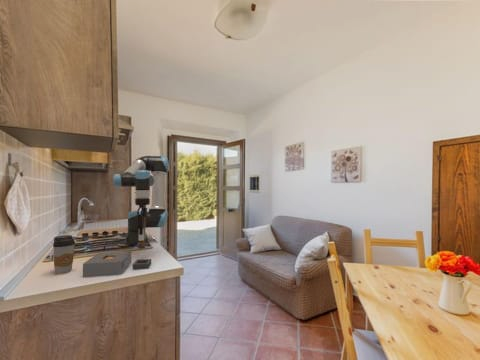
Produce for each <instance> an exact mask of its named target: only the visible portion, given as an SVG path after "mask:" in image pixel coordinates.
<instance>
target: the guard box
mask: <svg viewBox="0 0 480 360" xmlns="http://www.w3.org/2000/svg"><path fill="white" fill-rule="evenodd" d="M107 257H114V258H111V259H105V258H107ZM131 264H132V251H114V252H98V253H96V254H95V255H93V256H92V257H90V258H89V259H88V260H86V261H85V262H84V263H82V278H90V277H91V278H93V277H104V276H106V277H107V276H121V275H123V274H124V272H125V271H126V270H127V269H128V268H129V266H130V265H131Z"/></svg>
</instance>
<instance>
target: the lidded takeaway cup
mask: <svg viewBox="0 0 480 360" xmlns="http://www.w3.org/2000/svg"><path fill="white" fill-rule="evenodd" d="M64 238H73V234H72V235H71V234H68V235H67V234H65V235H57V236H55V237H53V242H54V241H55V240H58V239H64ZM52 250H53V251H52V260H53V261H54V249H52Z"/></svg>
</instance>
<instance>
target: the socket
mask: <svg viewBox="0 0 480 360" xmlns="http://www.w3.org/2000/svg"><path fill="white" fill-rule="evenodd" d="M151 265H152V258H145V259H143V258H141V259H135V261H134V262H133V264H132V269H131V270H133V271H134V270H149V269H150V266H151Z"/></svg>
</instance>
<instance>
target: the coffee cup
mask: <svg viewBox="0 0 480 360" xmlns="http://www.w3.org/2000/svg"><path fill="white" fill-rule="evenodd" d="M75 244H76V241H75V239H74V237H72V238H64V239H58V240H55V241H54V240H53V244H52V248H53V249H54V260H53V266H54V273H55V275H65V274H68V273H70V272H71V271H72V270H73V263H74V254H75ZM53 249H52V250H53Z"/></svg>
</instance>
